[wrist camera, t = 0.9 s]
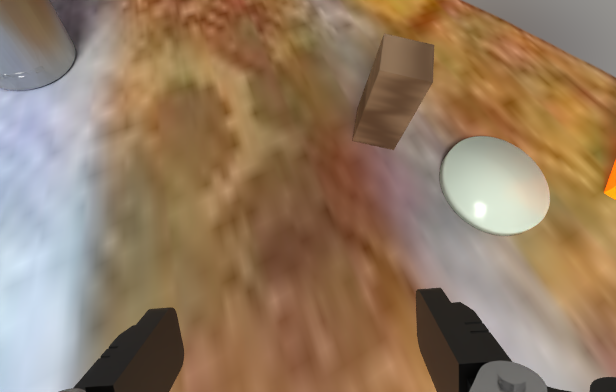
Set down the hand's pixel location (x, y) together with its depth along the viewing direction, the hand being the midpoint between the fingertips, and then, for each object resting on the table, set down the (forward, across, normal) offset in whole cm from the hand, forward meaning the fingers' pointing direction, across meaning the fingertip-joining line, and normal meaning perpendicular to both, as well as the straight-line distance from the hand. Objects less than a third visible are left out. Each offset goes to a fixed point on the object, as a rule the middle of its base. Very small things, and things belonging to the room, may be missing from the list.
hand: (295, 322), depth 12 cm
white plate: (+27, -18, +3) cm, 33 cm away
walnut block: (+30, -7, -4) cm, 31 cm away
